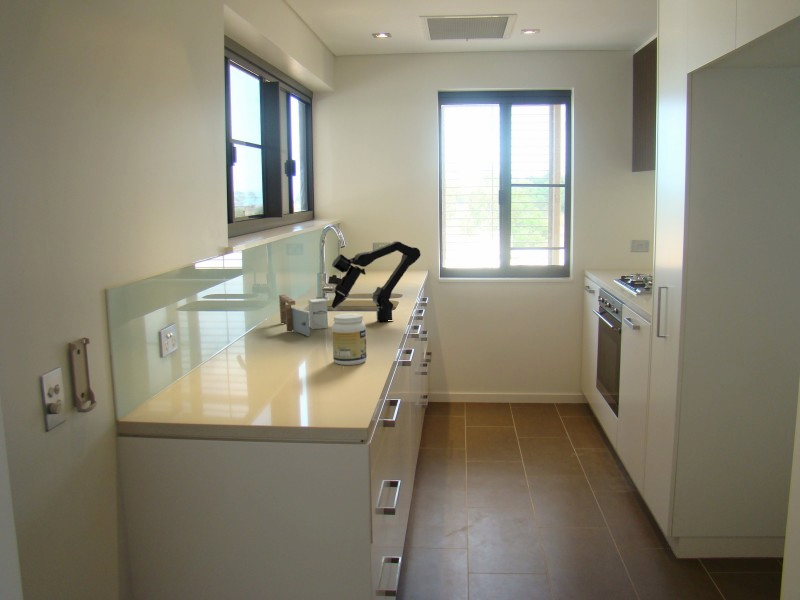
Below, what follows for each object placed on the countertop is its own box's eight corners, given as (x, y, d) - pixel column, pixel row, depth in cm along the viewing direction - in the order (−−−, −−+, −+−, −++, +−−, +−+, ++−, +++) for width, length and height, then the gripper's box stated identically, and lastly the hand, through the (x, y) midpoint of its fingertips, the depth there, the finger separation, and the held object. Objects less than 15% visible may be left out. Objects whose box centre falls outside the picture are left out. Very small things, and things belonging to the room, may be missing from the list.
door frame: (296, 331, 309) (295, 301, 307) (287, 332, 308) (285, 301, 306) (285, 323, 330) (284, 294, 327) (277, 323, 328) (275, 295, 326)
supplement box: (312, 329, 312) (310, 301, 310) (309, 326, 319) (308, 299, 317) (328, 328, 314) (327, 300, 312) (325, 325, 321) (324, 298, 319)
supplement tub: (367, 365, 247) (365, 317, 244) (333, 366, 246) (330, 319, 243) (366, 356, 259) (364, 311, 256) (333, 358, 258) (331, 313, 255)
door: (289, 330, 310) (288, 308, 308) (294, 329, 311) (293, 307, 309) (304, 336, 296) (303, 313, 295) (309, 335, 297) (308, 312, 296)
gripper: (336, 270, 327) (318, 299, 326) (334, 266, 309) (316, 297, 307) (356, 283, 328) (339, 311, 326) (356, 279, 309) (337, 310, 308)
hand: (332, 307), depth 317 cm, fingers open, 9 cm apart
